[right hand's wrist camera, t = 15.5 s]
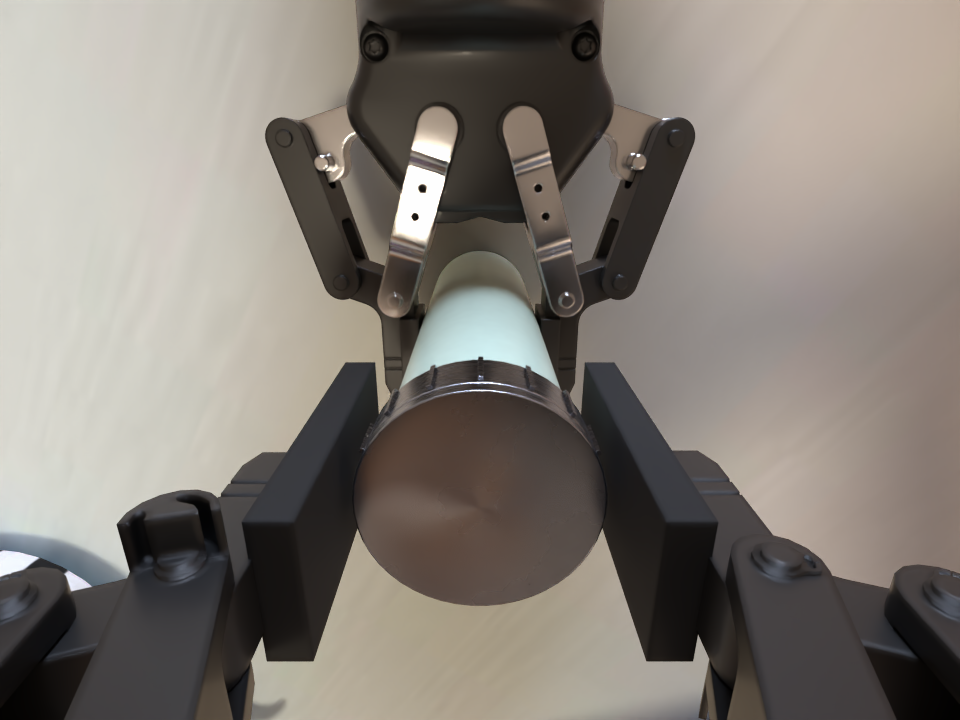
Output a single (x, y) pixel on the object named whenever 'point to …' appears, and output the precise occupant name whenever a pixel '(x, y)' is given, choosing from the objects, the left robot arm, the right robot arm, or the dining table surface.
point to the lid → (479, 484)
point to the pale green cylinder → (480, 319)
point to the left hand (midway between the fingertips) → (480, 400)
